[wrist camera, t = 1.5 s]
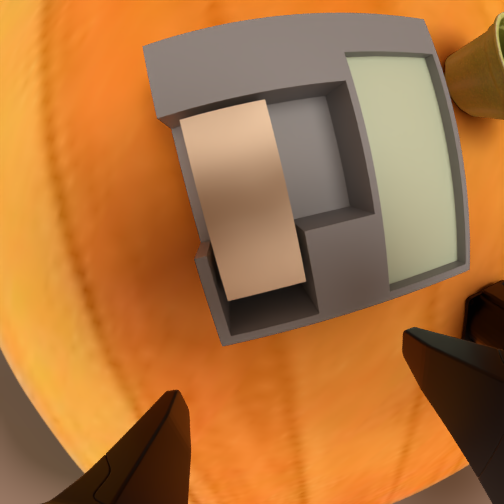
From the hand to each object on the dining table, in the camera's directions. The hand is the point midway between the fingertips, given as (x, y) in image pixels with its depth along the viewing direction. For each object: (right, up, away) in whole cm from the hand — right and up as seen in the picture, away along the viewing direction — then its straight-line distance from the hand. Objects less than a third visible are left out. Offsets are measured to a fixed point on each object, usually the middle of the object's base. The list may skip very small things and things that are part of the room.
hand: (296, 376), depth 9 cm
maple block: (-2, +7, +8) cm, 11 cm away
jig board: (+3, +10, +11) cm, 15 cm away
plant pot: (+18, +19, +10) cm, 28 cm away
